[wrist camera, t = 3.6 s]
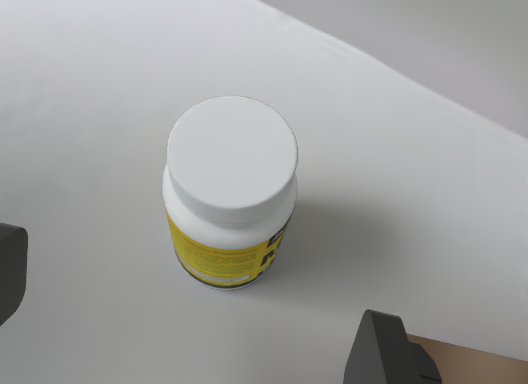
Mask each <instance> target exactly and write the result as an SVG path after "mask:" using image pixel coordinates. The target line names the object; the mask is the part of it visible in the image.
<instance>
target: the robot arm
mask: <svg viewBox="0 0 528 384" xmlns="http://www.w3.org/2000/svg"><path fill="white" fill-rule="evenodd" d="M27 250H28V234H27V231H26V230H25V229H24V228H21V227H17V226H13V225H9V224H4V223H0V326H1V325H2V324H3V323H4V322H5V321H6V320H7V319H8V318H9V317H10V316H12V315H13V314H14V312H15V311H16V310H17V309H18V307H19V305H20V303H21V301H22V299H23V296H24V293H25V288H26V271H27ZM343 384H442V378H441V376H440V373H439V371H438V368H437V365H436V363H435V361H434V360H433V359H432V358H431V357H430V355H429V354H428V353H427V352H426V351H425V350H424V348H423V347H422V346H421V345H420V344H417V343H413V342H409V341H408V338H407V335H406V332H405V329H404V326H403V323H402V320H401V318H400V317H399V316H394V315H390V314H386V313H381V312H377V311H373V310H369V309H368V310H366V311H365V313H364V315H363V317H362V320H361V323H360V325H359V328H358V331H357V334H356V337H355V340H354V343H353V346H352V349H351V352H350V355H349V358H348V361H347V364H346V368H345V373H344V381H343Z"/></svg>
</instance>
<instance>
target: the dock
mask: <svg viewBox="0 0 528 384" xmlns="http://www.w3.org/2000/svg"><path fill="white" fill-rule="evenodd" d="M406 335H407V338H408V341H409V342H413V343H417V344H420V345H421V346H422V347H423V348H424V350H425V351H426V352H427V353H428V354H429V355H430V357H431V358H432V359H433V360H434V361H435V363H436V365H437V368H438V371H439V373H440V376H441V378H442V384H528V362H526V361H522V360H517V359H513V358H509V357H504V356H500V355H496V354H492V353H487V352H483V351H479V350H474V349H470V348H466V347H461V346H457V345H453V344H449V343H444V342H440V341H436V340H431V339H427V338H423V337H418V336H414V335H410V334H406Z"/></svg>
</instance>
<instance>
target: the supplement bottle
mask: <svg viewBox="0 0 528 384" xmlns="http://www.w3.org/2000/svg"><path fill="white" fill-rule="evenodd" d="M167 161H168V162H167V164H166V167H165V170H164V174H163V181H162V195H163V201H164V205H165V209H166V213H167V217H168V221H169V225H170V230H171V235H172V239H173V244H174V248H175V252H176V255H177V258H178V261H179V263H180V264H181V266H182V268H183V269H184V270H185V272H186V273H187V274H188V275H189V276H190V277H191V278H193V279H194V280H195V281H197V282H198V283H200V284H202V285H204V286H207V287H210V288H213V289H219V290H232V289H238V288H242V287H245V286H247V285H250V284H251V283H253V282H255V281H256V280H258V279H259V278H260V277H261V276H263V275H264V273H265V272H266V271H267V270H268V269H269V267H270V266H271V264H272V262H273V261H274V258H275V256H276V254H277V251H278V248H279V245H280V243H281V240H282V238H283V235H284V233H285V230H286V227H287V225H288V222H289V220H290V217H291V215H292V213H293V210H294V207H295V203H296V197H297V179H296V174H295V170H296V166H297V161H298V148H297V143H296V139H295V136H294V133H293V131H292V129H291V128H290V126H289V124H288V123H287V122H286V121H285V119H284V118H283V117H282V116H281V115H280V114H279V113H278V112H277V111H275V110H274V109H273V108H271V107H270V106H268V105H266V104H264V103H262V102H260V101H258V100H254V99H251V98H248V97H242V96H220V97H215V98H211V99H208V100H205V101H202V102H200V103H198V104H196V105H195V106H193V107H191V108H190V109H189V110H187V111H186V112H185V113H184V114H183V115H182V116H181V117H180V118H179V119H178V121H177V122H176V124H175V125H174V127H173V129H172V130H171V133H170V136H169V140H168V144H167Z"/></svg>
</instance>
